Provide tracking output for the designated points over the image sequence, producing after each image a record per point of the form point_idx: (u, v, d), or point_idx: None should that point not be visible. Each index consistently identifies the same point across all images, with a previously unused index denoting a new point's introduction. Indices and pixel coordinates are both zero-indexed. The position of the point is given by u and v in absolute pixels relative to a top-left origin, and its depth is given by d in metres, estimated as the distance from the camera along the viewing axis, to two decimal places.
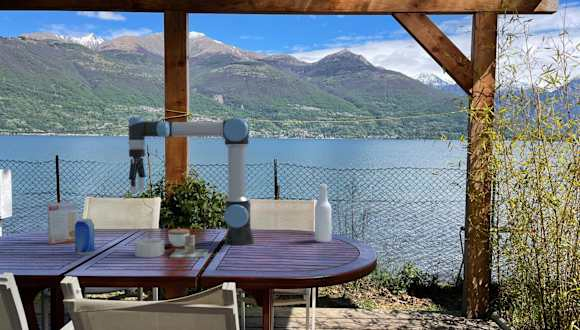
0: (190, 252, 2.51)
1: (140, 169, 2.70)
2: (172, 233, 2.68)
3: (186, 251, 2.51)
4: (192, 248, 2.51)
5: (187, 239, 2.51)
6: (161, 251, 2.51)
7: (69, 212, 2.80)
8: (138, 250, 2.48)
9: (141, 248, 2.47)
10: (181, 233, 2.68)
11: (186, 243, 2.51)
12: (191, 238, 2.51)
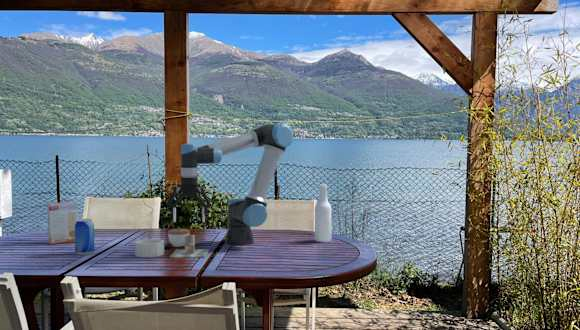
0: (190, 252, 2.51)
1: None
2: (172, 233, 2.68)
3: (186, 251, 2.51)
4: (192, 248, 2.51)
5: (187, 239, 2.51)
6: (161, 251, 2.51)
7: (69, 212, 2.80)
8: (138, 250, 2.48)
9: (141, 248, 2.47)
10: (181, 233, 2.68)
11: (186, 243, 2.51)
12: (191, 238, 2.51)
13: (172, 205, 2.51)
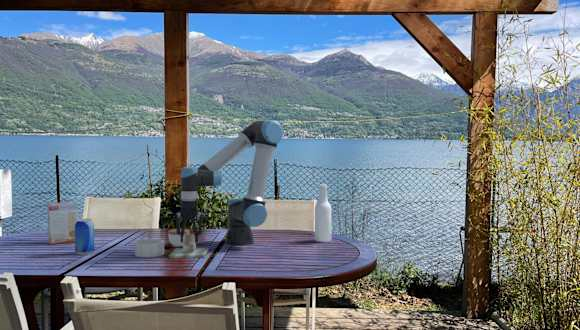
0: (189, 251, 2.51)
1: None
2: (172, 233, 2.68)
3: (185, 250, 2.51)
4: (191, 247, 2.51)
5: (186, 238, 2.51)
6: (161, 251, 2.51)
7: (69, 212, 2.80)
8: (138, 250, 2.48)
9: (141, 248, 2.47)
10: None
11: (185, 242, 2.51)
12: (190, 237, 2.51)
13: (181, 233, 2.52)
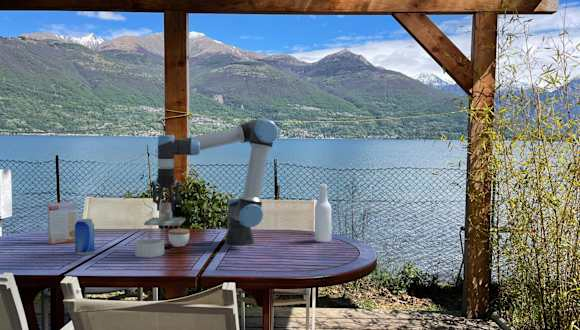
0: (166, 219, 2.50)
1: None
2: (172, 233, 2.68)
3: (162, 218, 2.50)
4: (168, 215, 2.50)
5: (163, 206, 2.50)
6: (161, 251, 2.51)
7: (69, 212, 2.80)
8: (138, 250, 2.48)
9: (141, 248, 2.47)
10: (181, 233, 2.68)
11: (162, 210, 2.50)
12: (167, 205, 2.50)
13: (157, 201, 2.50)
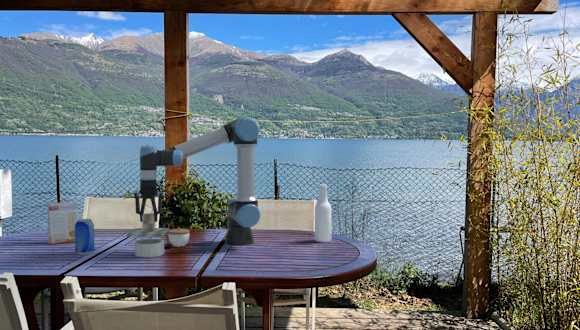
0: (149, 230, 2.51)
1: None
2: (172, 233, 2.68)
3: (145, 229, 2.50)
4: (151, 226, 2.50)
5: (146, 217, 2.50)
6: (161, 251, 2.51)
7: (69, 212, 2.80)
8: (138, 250, 2.48)
9: (141, 248, 2.47)
10: (181, 233, 2.68)
11: (145, 221, 2.50)
12: (150, 216, 2.50)
13: (140, 212, 2.51)
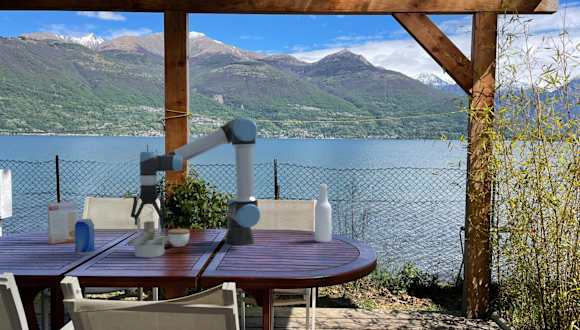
0: (149, 238, 2.51)
1: None
2: (172, 233, 2.68)
3: (145, 237, 2.51)
4: (151, 234, 2.51)
5: (146, 225, 2.50)
6: (161, 251, 2.51)
7: (69, 212, 2.80)
8: (138, 250, 2.48)
9: (141, 248, 2.47)
10: (181, 233, 2.68)
11: (145, 229, 2.51)
12: (150, 224, 2.50)
13: (135, 215, 2.51)
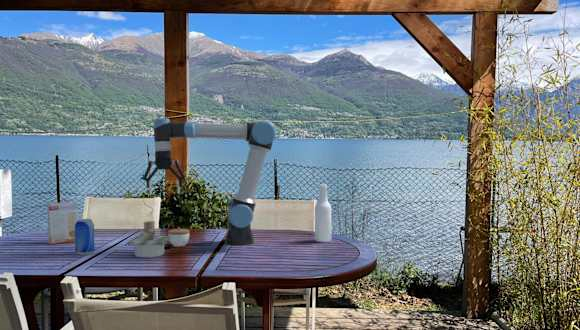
0: (149, 238, 2.51)
1: (171, 171, 2.61)
2: (172, 233, 2.68)
3: (145, 237, 2.51)
4: (151, 234, 2.51)
5: (146, 225, 2.50)
6: (161, 251, 2.51)
7: (69, 212, 2.80)
8: (138, 250, 2.48)
9: (141, 248, 2.47)
10: (181, 233, 2.68)
11: (145, 229, 2.51)
12: (150, 224, 2.50)
13: (147, 178, 2.60)
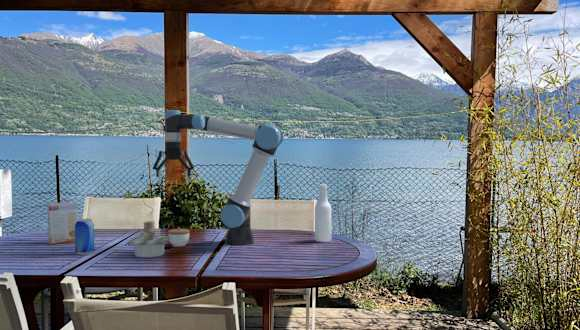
0: (149, 238, 2.51)
1: None
2: (172, 233, 2.68)
3: (145, 237, 2.51)
4: (151, 234, 2.51)
5: (146, 225, 2.50)
6: (161, 251, 2.51)
7: (69, 212, 2.80)
8: (138, 250, 2.48)
9: (141, 248, 2.47)
10: (181, 233, 2.68)
11: (145, 229, 2.51)
12: (150, 224, 2.50)
13: (157, 168, 2.68)
